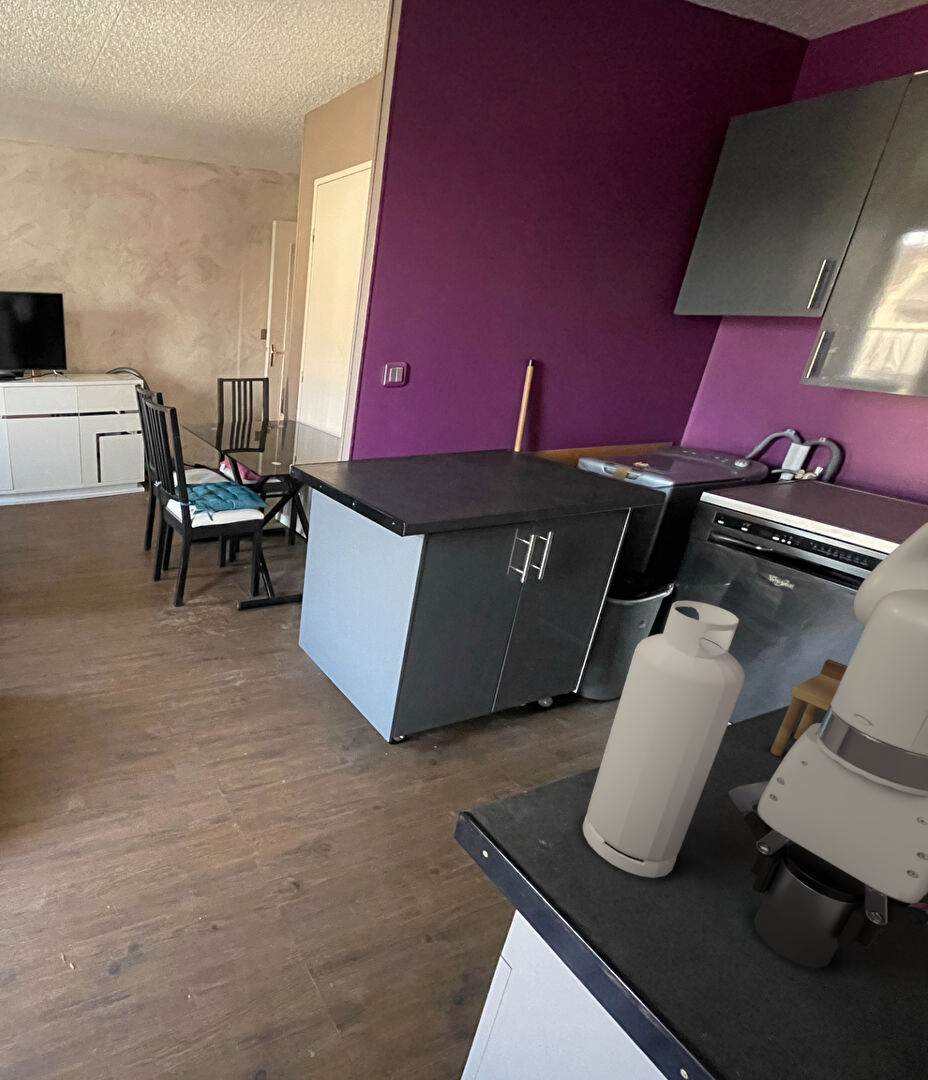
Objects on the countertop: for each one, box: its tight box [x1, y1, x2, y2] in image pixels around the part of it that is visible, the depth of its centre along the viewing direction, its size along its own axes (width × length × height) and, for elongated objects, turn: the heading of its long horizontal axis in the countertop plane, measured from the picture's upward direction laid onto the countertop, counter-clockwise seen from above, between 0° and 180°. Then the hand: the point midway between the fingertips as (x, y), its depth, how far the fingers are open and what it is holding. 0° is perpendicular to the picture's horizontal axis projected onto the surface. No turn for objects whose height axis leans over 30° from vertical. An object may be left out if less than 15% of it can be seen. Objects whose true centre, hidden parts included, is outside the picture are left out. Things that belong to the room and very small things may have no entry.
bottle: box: [582, 600, 746, 878], centre depth 57 cm, size 8×8×28 cm
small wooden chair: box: [770, 658, 848, 757], centre depth 72 cm, size 8×7×12 cm
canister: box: [753, 842, 865, 969], centre depth 51 cm, size 5×5×9 cm
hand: (805, 910), depth 51 cm, fingers closed on canister, 5 cm apart
